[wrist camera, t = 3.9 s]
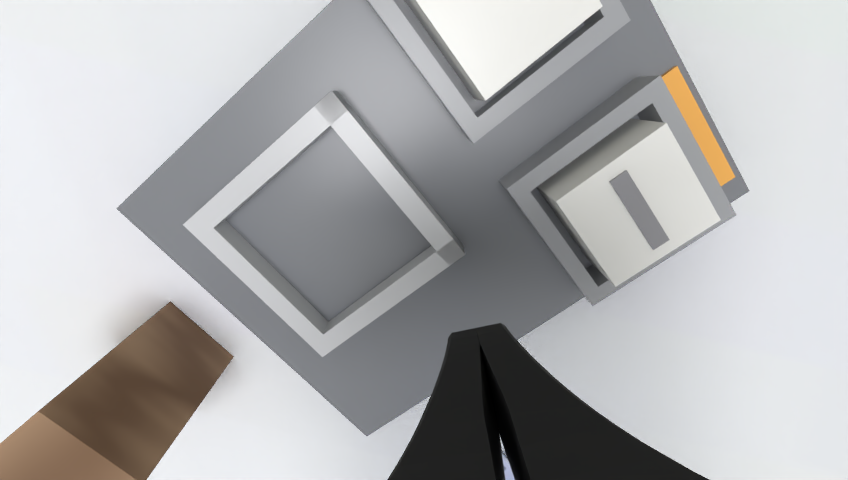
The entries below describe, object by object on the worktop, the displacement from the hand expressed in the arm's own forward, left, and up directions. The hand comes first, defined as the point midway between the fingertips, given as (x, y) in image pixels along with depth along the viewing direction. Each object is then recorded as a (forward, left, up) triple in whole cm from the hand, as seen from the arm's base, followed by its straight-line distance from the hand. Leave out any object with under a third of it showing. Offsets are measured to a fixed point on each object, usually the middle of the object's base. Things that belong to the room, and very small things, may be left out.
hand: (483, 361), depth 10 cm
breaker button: (-1, -6, -7) cm, 9 cm away
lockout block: (+4, +14, -9) cm, 17 cm away
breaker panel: (+3, -1, -9) cm, 9 cm away
